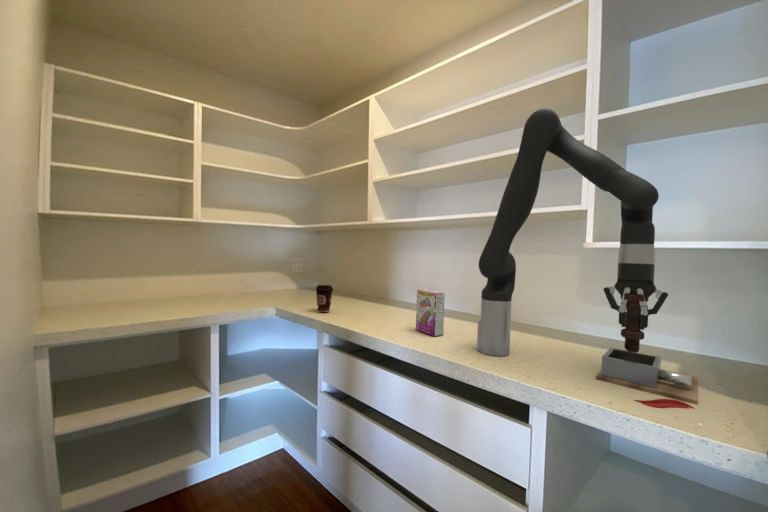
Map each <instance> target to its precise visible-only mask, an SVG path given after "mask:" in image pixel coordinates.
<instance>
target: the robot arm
mask: <svg viewBox="0 0 768 512" xmlns="http://www.w3.org/2000/svg"><path fill="white" fill-rule="evenodd" d="M547 152H548V153H551V154H552V155H554V156H556V157H558V158H559V159H561V160H563V161H564V162H565V163H566V164H567V165H569V166H570V167H571V168H573V169H574V170H575V171H577V172H578V173H579V174H580V175H581V176H582V177H584V178H585V179H586V180H587V181H589V182H590V183H592V184H593V185H594V186H595V187H597V188H599V190H601V191H603V192H607V193H610V194H611V195H612V196H614V198H616V199H618V200H620V218H621V219H620V220H621V227H620V228H621V229H620V238H619V239H620V241H619V243H620V244H619V249H618V258H617V259H618V261H617V277H616V279H617V280H616V282H615V284H614V285H613V286H605V287H604V288H603V292H604V295H605V298H606V299H607V302H608V304H609V306H610V308H611V309H612V310H615V311H617V312H618V325H621V328H625V326H626V323H625V322H626V315H627V314H626V311H627V309H626V305H627V301H628V300H625V299H624V294H636V295H643V296H644V295H645V298H646V299H647V298H648V299H649V298H650V297H651V296H652V295H653V294H654V293H655V298H656V299H657V301H656V302H655V304H654V305H653V307H652V308H650V309H649V307H648V301H645V298H644V302H642V301H639V303H640V307H641V318H640V331H644V330H645V329H647V328H648V325H649V316H651V315H656V314H658V313H659V311H660V309H661V308H662V306H663V304H664V303H665V301H666V300H667V298H668V296H669V292H667V291H662V290H660V289H658V288H657V286H656V285H655V269H656V268H655V265H656V264H655V263H656V250H655V238H656V237H655V235H656V234H655V233H656V230H655V229H656V228H655V225H654V223H653V217H654V216H653V215H654V214H653V212H654V211H653V210H654V206H655V205H656V204H657V202H658V200H659V198H660V197H659V191H658V189H657V188H656V186H654V184H652V183H651V182H650V181H648V180H646V179H644V178H642V177H641V176H638V175H636V174H635V173H632V172H630V171H628V170H626V169H625V168H623V166H621V165H620V164H619V163H617V162H616V161H614V160H612V159H611V158H610V157H608V156H606V155H605V154H603V153H601V152H600V151H599V150H596V149H594V148H592V147H590V146H588V145H587V144H584V143H582V142H581V141H579V140H578V139H577V138H575V137H574V136H573V135H572V134H570V132H569V131H568V130H567V129H566V128H565V127H564V126H563V125H562V122H561V120H560V117H559V116H558V114H557V113H556V112H555V111H554V110H552V109H550V108H546V107H545V108H538V109H537V110H535V111H534V112H532V113H531V114H530V115H529V117H527V120H526V122H525V123H524V127H523V131H522V135H521V141H520V144H519V148H518V153H517V156H516V160H515V163H514V164H513V167H512V170H511V172H510V175H509V178H508V180H507V183H506V185H505V189H504V191H503V194H502V197H501V200H500V205H499V208H498V211H497V213H496V217H495V219H494V221H493V226H492V229H491V231H490V235H489V236H488V238H487V241H486V243H485V245H484V247H483V250H482V252H481V254H480V256H479V260H478V268H479V269H478V270H479V272H480V274H481V275H482V276H483V277H484V278H486V285H485V286H484V288H483V289H482V290H481V297H480V298H481V300H480V301H481V302H480V303H481V304H480V320H479V321H477V337H476V338H477V339H476V340H477V341H476V351H479V352H480V353H482V354H484V355H487V356H491V357H508V356H509V355H510V352H511V351H510V350H511V345H510V344H511V323H512V322H511V320H512V297H513V295H514V294H513V293H514V291H515V285H516V284H515V283H516V274H517V273H516V272H517V264H516V260H515V257H514V255H513V254H512V253H511V252H510V249H511V246H512V243H513V241H514V238H516V235H517V233H518V232H519V231H520V229H521V228H522V227H523V225H525V222H526V221H527V219H528V218H529V216H530V214H531V213H532V211H533V208H534V207H533V206H534V204H535V201H536V199H537V196H538V191H539V186H540V182H541V174H542V173H541V172H542V167H543V164H544V159H545V157H546V154H547ZM615 291H617V292H618V294H619V295H620V296H621V294H623V293H624V294H623V297H622V299H621V300H620V304H618V303H617V301H616V299H615V298H616V297H615V296H614V294H615V293H616V292H615Z"/></svg>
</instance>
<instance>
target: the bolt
mask: <svg viewBox="0 0 768 512" xmlns="http://www.w3.org/2000/svg"><path fill="white" fill-rule="evenodd" d="M623 294H624V293H623ZM623 294H621V295H620V299H621V300H622V297H623ZM644 298H645V295H644V296H643V295H636V294H624V299H625V300H628V301H627V305H626V322H625V323H626V326H625V327H624V328H622V329H621V330H620V336H621V337H622V338H624V342H623V343H624V346H623V347H624V350H626V351H628V352H634V353H640V352H639V351H640V341H642V340H644V339H645V332H644V331H643V330H640V318H641V315H642V311H641V307H640V303H639V301H642V302H644ZM645 301H647V302H649V298H647V299H646V298H645Z"/></svg>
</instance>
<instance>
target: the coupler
mask: <svg viewBox="0 0 768 512" xmlns="http://www.w3.org/2000/svg"><path fill="white" fill-rule="evenodd" d="M661 364H662V357H661V356H657V355H651V354H647V353H641V352H637V353H634V352H628V351H627V350H626V349H620V348H615V347H610V348H608V350H607V351H606V352H605V353H604V354H603V355H602V357H601V369H602V371H601V376H604V377H608V378H613V379H617V380H621V381H625V382H629V383H633V384H637V385H641V386H645V387H649V388H653V389H657V385H658V382H659V380H664V381H668V382H672V383H674V388H677V389H681V390H685V391H686V386H690V387H692V376H693V375H691V376H688V375H689V374H686V375H683V374H684V373H681V374H678V373H679V372H677V373H673V372H674V371H672V372H669V371H670V370H667V371H664V370H665V369H662V368H661ZM661 369H662V370H661Z"/></svg>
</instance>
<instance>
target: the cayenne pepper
mask: <svg viewBox="0 0 768 512" xmlns="http://www.w3.org/2000/svg"><path fill="white" fill-rule="evenodd" d="M633 402H637V403H640V404H641V405H644V406H647V407H651V408H658V409H666V408H668V409H669V408H675V409H677V408H678V409H686V410H687V409H694V410H696V408H695V407H693V406H692V405H690V404H688V402H684V401H680V400H676V399H672V398H657V399H651V400H650V399H649V400H641V399H639V400H638V399H633Z"/></svg>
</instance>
